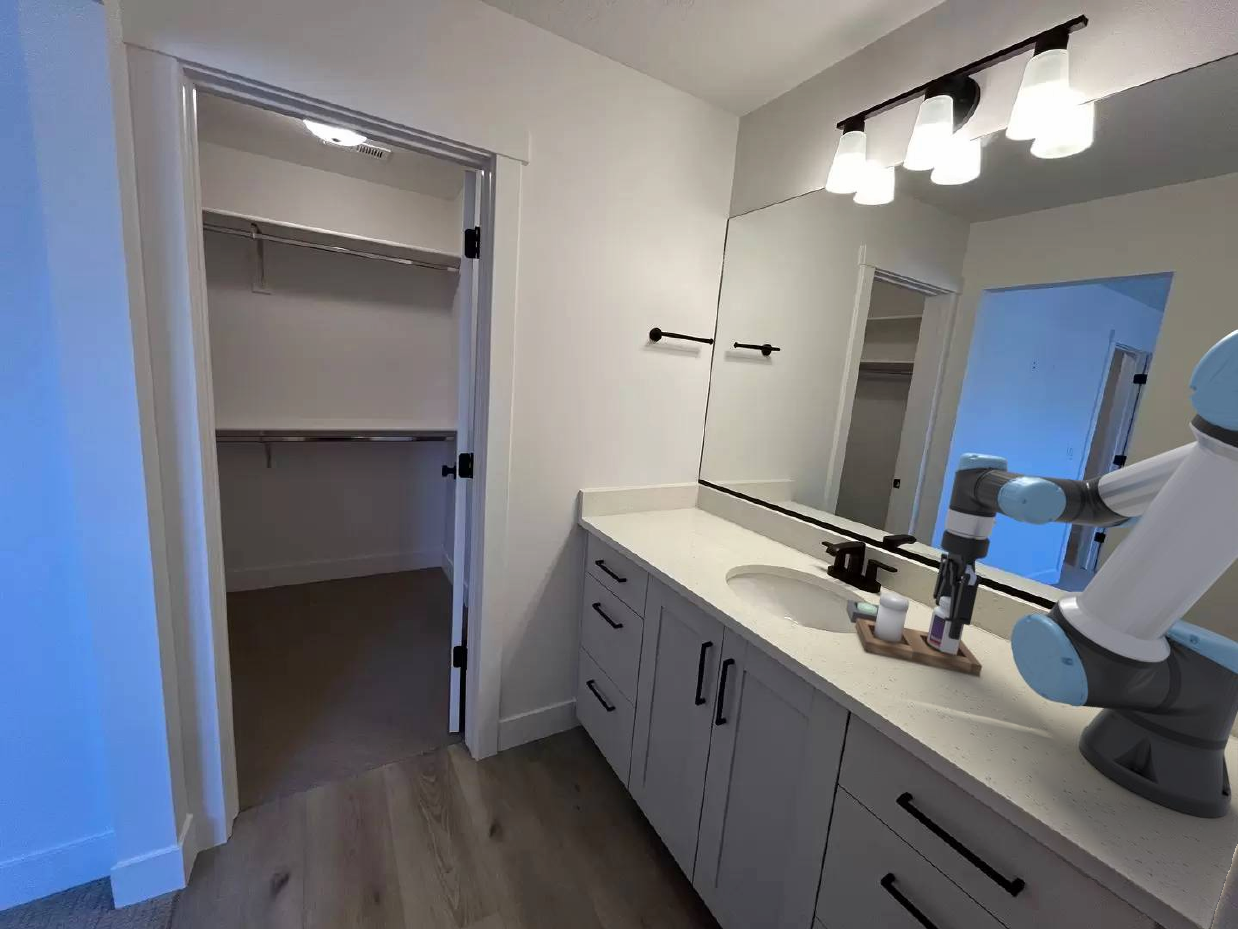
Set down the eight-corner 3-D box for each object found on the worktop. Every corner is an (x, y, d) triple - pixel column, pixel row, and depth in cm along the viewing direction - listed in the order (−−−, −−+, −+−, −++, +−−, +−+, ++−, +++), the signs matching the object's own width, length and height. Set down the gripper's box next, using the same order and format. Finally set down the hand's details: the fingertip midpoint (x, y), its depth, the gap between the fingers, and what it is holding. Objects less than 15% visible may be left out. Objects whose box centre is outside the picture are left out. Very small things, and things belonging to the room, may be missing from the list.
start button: (876, 625, 112) (879, 612, 112) (857, 621, 113) (859, 608, 113) (872, 617, 116) (875, 604, 116) (854, 614, 117) (856, 601, 117)
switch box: (884, 633, 111) (887, 618, 110) (850, 626, 113) (853, 611, 112) (877, 619, 117) (880, 605, 117) (845, 613, 119) (848, 599, 119)
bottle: (903, 652, 101) (912, 605, 99) (874, 646, 102) (883, 600, 100) (896, 640, 106) (905, 595, 104) (869, 635, 107) (878, 590, 105)
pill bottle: (963, 655, 98) (973, 608, 96) (933, 650, 99) (943, 603, 97) (950, 642, 103) (960, 597, 101) (922, 637, 104) (931, 592, 102)
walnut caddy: (957, 652, 105) (960, 638, 105) (978, 680, 95) (982, 665, 94) (854, 630, 110) (856, 618, 110) (864, 655, 100) (866, 641, 100)
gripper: (1011, 551, 87) (983, 673, 91) (970, 525, 105) (947, 628, 109) (963, 543, 89) (936, 663, 93) (930, 519, 107) (909, 621, 111)
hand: (942, 644), depth 101 cm, fingers closed on pill bottle, 5 cm apart
